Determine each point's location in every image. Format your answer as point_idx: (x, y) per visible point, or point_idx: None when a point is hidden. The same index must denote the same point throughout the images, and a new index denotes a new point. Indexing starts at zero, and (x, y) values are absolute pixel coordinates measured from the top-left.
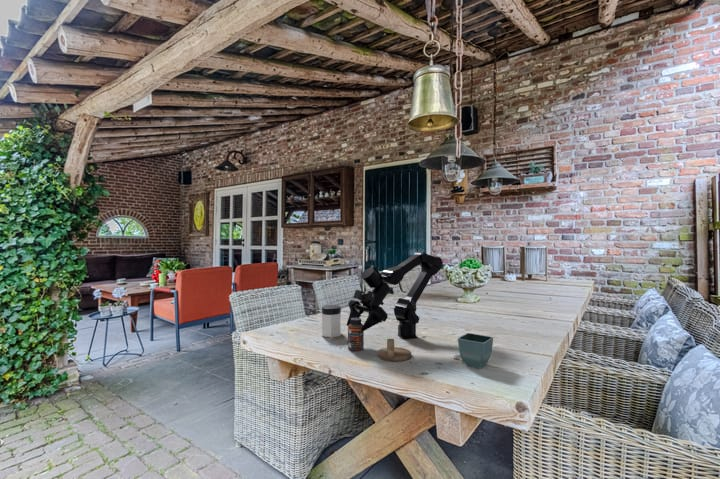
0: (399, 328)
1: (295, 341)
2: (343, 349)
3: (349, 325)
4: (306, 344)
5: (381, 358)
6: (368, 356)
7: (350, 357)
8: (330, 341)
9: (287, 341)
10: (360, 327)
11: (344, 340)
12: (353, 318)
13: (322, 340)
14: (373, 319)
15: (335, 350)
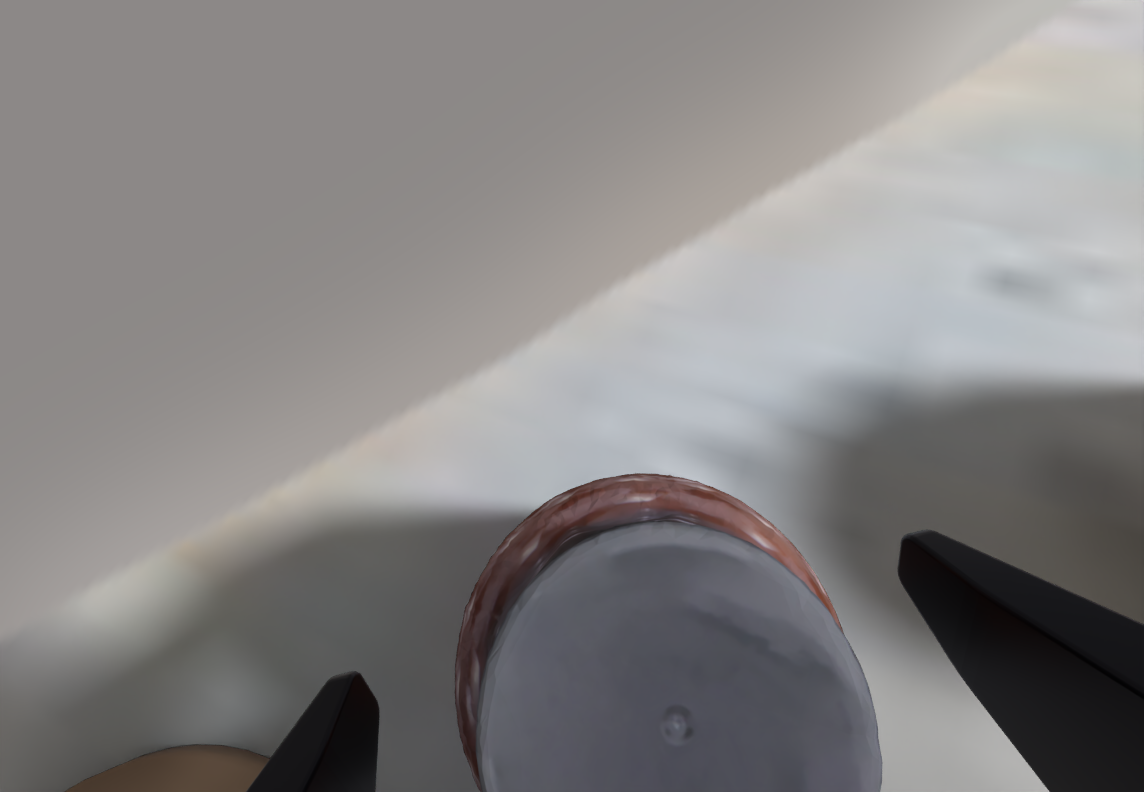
0: None
1: (1077, 101)
2: (656, 465)
3: (645, 489)
4: (946, 171)
5: (149, 755)
6: (315, 643)
7: (387, 445)
8: (1009, 421)
9: (1089, 43)
10: (457, 720)
11: None
12: (725, 642)
13: (1070, 347)
14: None
15: (655, 375)
